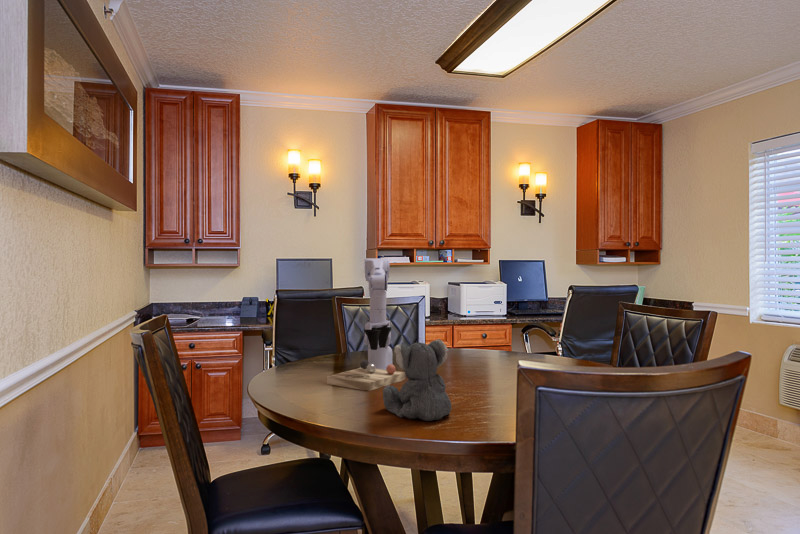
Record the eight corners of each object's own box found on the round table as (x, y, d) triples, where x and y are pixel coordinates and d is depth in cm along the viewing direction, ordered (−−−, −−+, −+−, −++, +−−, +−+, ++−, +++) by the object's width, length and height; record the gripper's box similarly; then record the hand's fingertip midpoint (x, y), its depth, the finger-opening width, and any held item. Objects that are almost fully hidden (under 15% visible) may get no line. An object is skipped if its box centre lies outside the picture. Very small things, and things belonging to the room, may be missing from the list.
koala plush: (437, 402, 149) (436, 334, 149) (467, 419, 132) (466, 342, 132) (379, 408, 143) (379, 337, 143) (403, 427, 126) (403, 346, 126)
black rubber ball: (363, 367, 188) (363, 358, 188) (370, 368, 186) (370, 359, 186) (358, 369, 185) (358, 360, 185) (365, 370, 183) (365, 360, 183)
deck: (364, 373, 189) (364, 366, 189) (405, 379, 179) (405, 372, 179) (326, 383, 173) (326, 376, 173) (369, 391, 163) (369, 383, 163)
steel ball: (370, 371, 180) (370, 362, 180) (377, 372, 178) (377, 363, 178) (364, 373, 178) (364, 363, 178) (372, 374, 176) (372, 364, 176)
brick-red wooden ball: (389, 372, 179) (389, 363, 179) (397, 373, 177) (397, 364, 177) (384, 374, 176) (384, 364, 176) (392, 375, 174) (391, 365, 174)
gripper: (378, 308, 189) (378, 345, 189) (357, 310, 177) (357, 350, 176) (395, 308, 186) (395, 346, 186) (375, 311, 173) (375, 351, 173)
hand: (378, 348), depth 181 cm, fingers open, 5 cm apart
